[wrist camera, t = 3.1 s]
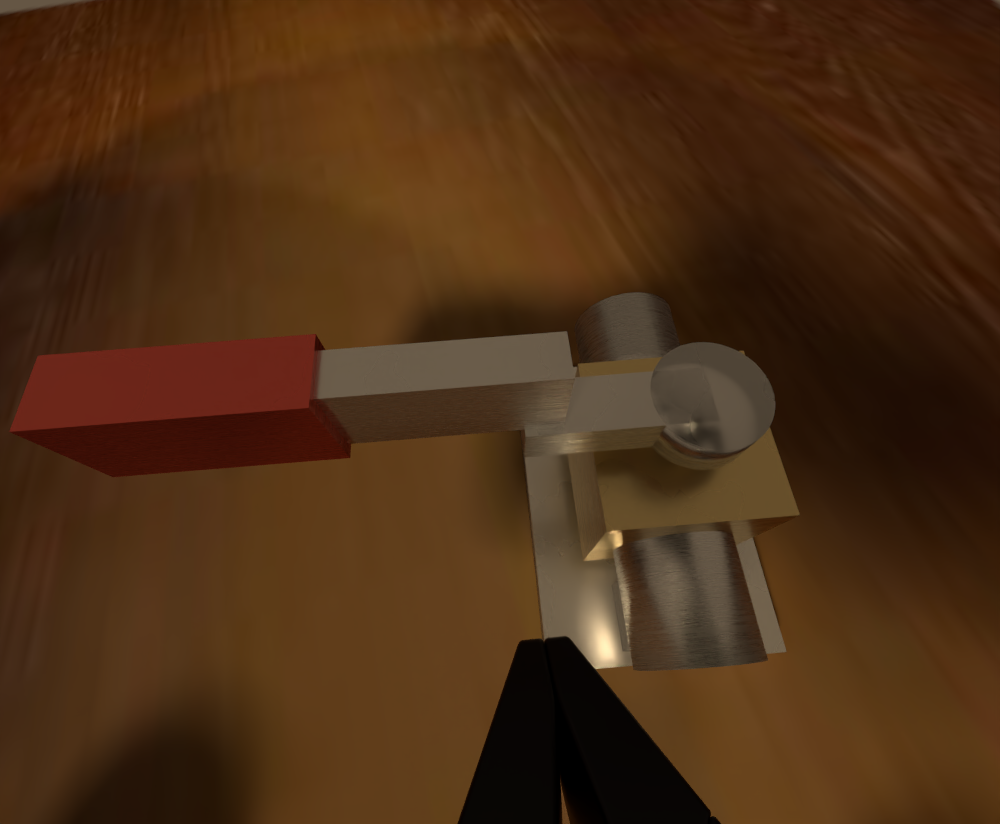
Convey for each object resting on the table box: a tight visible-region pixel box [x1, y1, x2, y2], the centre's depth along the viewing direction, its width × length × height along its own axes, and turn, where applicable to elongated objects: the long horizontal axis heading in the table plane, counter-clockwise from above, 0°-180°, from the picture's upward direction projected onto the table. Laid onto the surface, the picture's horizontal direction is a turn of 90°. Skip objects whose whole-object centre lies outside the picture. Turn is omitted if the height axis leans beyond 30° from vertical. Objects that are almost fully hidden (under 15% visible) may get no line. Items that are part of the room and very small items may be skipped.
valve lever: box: [9, 331, 775, 477], centre depth 12 cm, size 3×17×4 cm, turn 95°
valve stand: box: [520, 292, 800, 671], centre depth 19 cm, size 13×9×9 cm
